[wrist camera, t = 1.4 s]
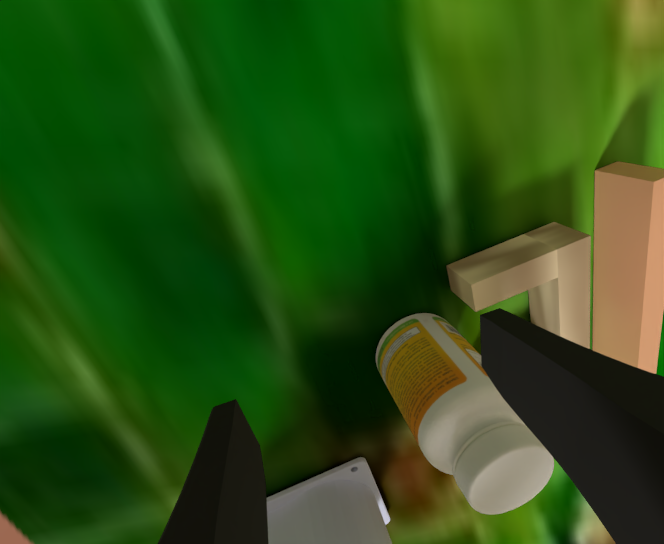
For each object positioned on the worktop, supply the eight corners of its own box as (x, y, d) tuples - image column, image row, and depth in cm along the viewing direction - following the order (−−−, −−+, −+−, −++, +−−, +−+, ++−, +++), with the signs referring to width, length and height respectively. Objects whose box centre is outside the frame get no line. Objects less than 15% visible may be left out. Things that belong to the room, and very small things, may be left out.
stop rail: (592, 351, 29) (636, 382, 25) (594, 170, 22) (653, 182, 19) (610, 343, 29) (656, 373, 26) (617, 161, 22) (679, 171, 19)
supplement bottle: (370, 386, 25) (443, 539, 16) (376, 314, 23) (465, 445, 14) (445, 376, 26) (551, 513, 18) (458, 306, 24) (586, 423, 15)
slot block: (469, 387, 27) (492, 415, 24) (446, 265, 22) (471, 284, 20) (558, 349, 27) (589, 372, 25) (553, 221, 23) (590, 235, 20)
